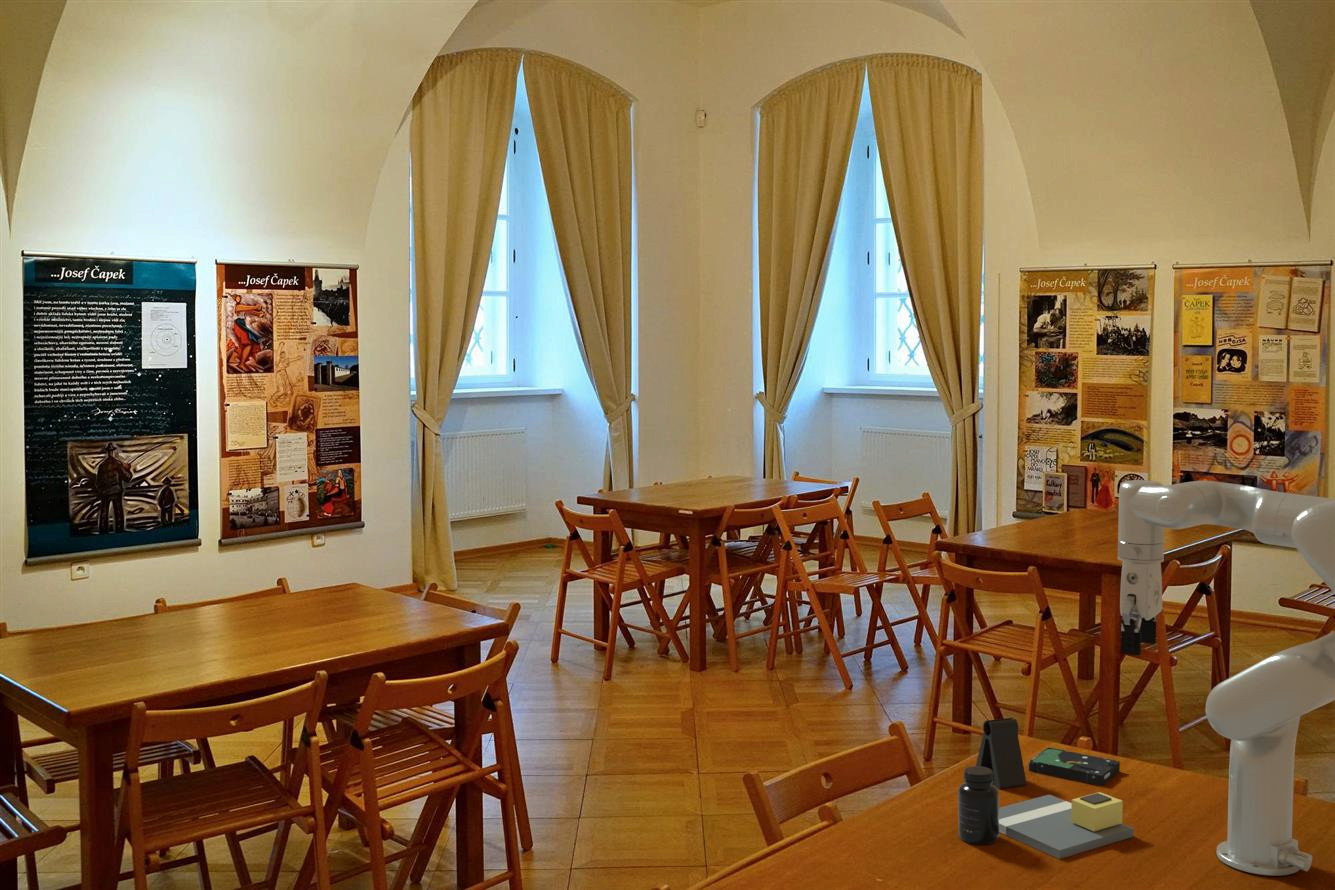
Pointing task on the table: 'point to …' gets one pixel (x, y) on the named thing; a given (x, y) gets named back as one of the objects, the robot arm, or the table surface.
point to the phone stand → (1002, 753)
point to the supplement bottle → (978, 807)
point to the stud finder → (1096, 811)
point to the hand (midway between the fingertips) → (1138, 648)
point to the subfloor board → (1054, 827)
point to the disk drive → (1074, 766)
